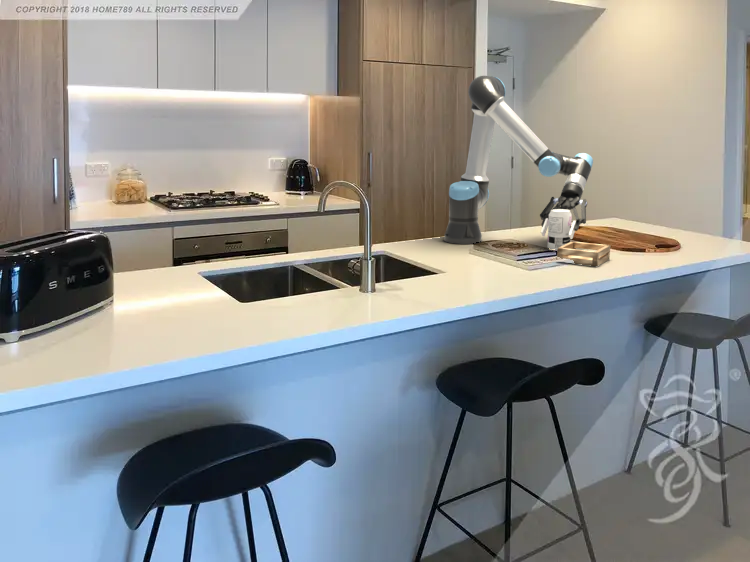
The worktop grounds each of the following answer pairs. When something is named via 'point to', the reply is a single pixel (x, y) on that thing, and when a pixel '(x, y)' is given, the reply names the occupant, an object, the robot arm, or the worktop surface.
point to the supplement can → (559, 228)
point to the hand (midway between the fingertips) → (556, 235)
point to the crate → (585, 253)
